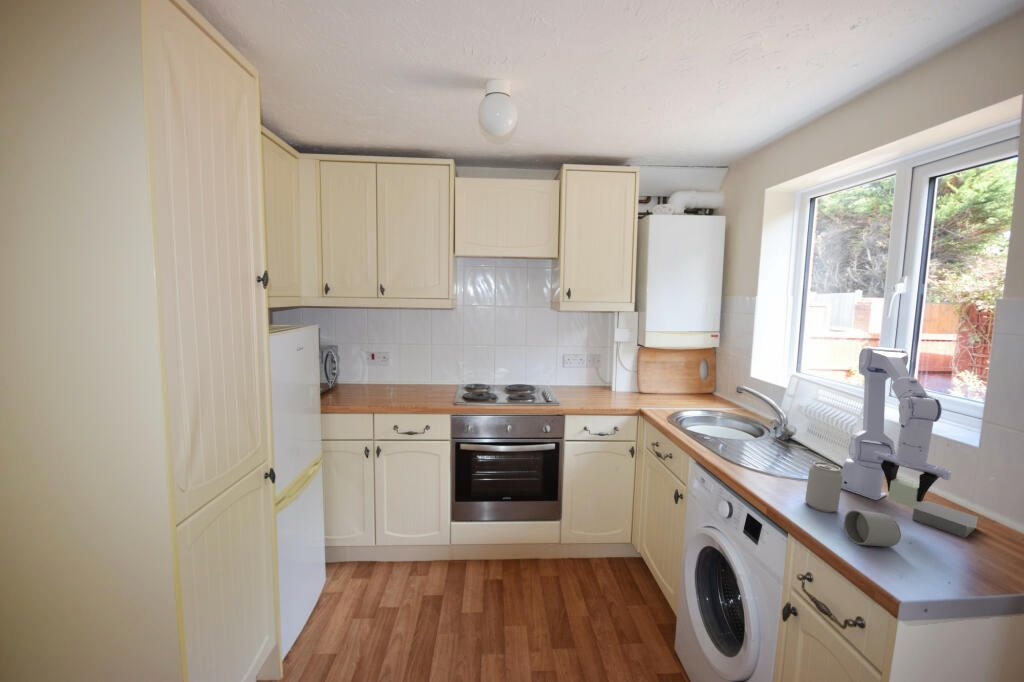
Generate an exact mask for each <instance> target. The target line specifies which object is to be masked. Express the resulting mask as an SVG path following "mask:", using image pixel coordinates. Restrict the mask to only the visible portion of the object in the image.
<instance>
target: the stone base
mask: <svg viewBox="0 0 1024 682" xmlns="http://www.w3.org/2000/svg"><path fill="white" fill-rule="evenodd" d="M978 519H979V517H978V516H977V515H973V514H970V513H967V512H964V511H960V510H957V509H955V508H951V507H949V506H945V505H943V504H938V503H935V502H932V501H929V500H925V501H924V502H923V501H922V502H921V503H920V504H919V505H918V506H916V507H915V508H913V513H912V520H914V521H917V522H920V523H923V524H926V525H928V526H930V527H934V528H937V529H940V530H941V531H944V532H948V533H950V534H953V535H955V536H959V537H961V538H963V539H964V538H967V537H968V536H969V535H970V534H971V533H972V532H973V531H974V530H975V529H976V528H977V524H978Z"/></svg>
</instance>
